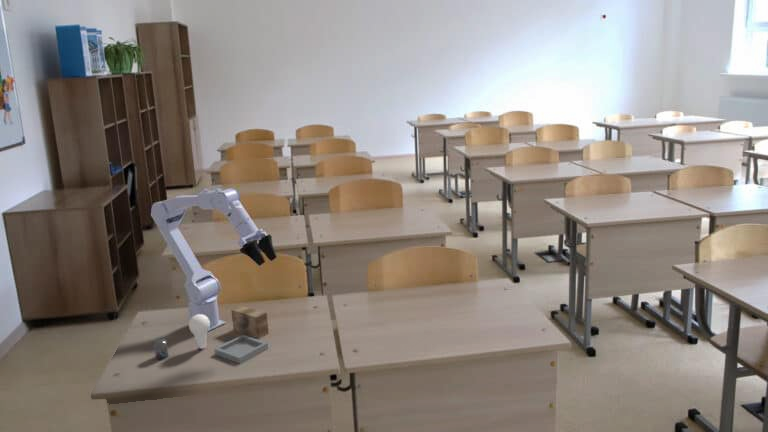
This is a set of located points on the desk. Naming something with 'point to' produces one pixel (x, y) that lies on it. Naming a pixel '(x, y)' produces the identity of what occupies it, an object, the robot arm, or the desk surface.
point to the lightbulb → (200, 329)
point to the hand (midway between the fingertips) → (268, 261)
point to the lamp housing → (250, 321)
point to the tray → (241, 349)
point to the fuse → (161, 349)
